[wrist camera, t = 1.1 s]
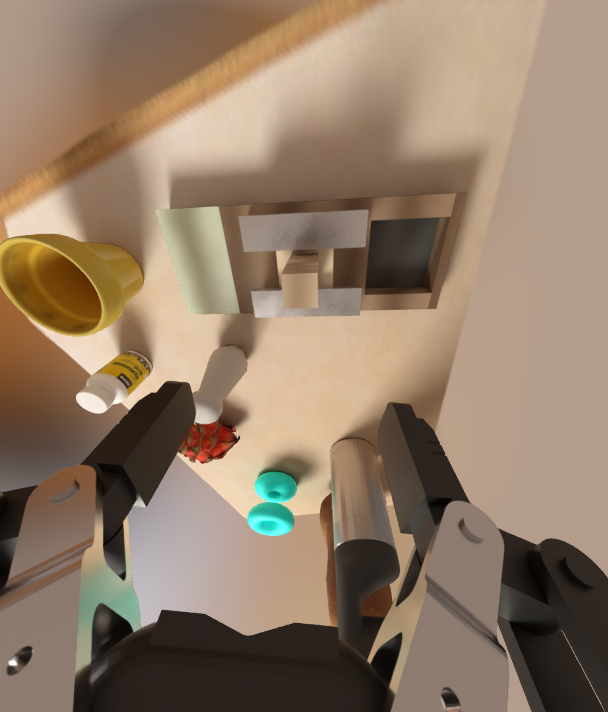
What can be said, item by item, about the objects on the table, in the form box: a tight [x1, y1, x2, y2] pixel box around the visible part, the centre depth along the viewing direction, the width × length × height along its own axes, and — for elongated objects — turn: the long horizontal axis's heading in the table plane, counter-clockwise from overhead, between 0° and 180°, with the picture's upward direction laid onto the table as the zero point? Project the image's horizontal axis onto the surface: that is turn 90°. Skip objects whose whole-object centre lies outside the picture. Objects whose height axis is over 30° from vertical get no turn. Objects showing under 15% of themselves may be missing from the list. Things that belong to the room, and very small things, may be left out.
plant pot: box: [0, 234, 143, 337], centre depth 28 cm, size 10×10×10 cm
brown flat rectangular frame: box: [155, 193, 467, 314], centre depth 29 cm, size 32×12×3 cm, turn 93°
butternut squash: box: [320, 493, 393, 627], centre depth 49 cm, size 14×13×25 cm
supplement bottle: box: [76, 351, 152, 413], centre depth 37 cm, size 5×5×10 cm
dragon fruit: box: [178, 419, 240, 464], centre depth 46 cm, size 8×8×12 cm
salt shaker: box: [192, 345, 248, 424], centre depth 34 cm, size 6×6×13 cm
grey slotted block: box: [238, 209, 368, 318], centre depth 26 cm, size 12×10×4 cm
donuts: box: [248, 472, 297, 536], centre depth 54 cm, size 10×10×10 cm
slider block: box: [276, 248, 333, 309], centre depth 23 cm, size 6×6×10 cm
